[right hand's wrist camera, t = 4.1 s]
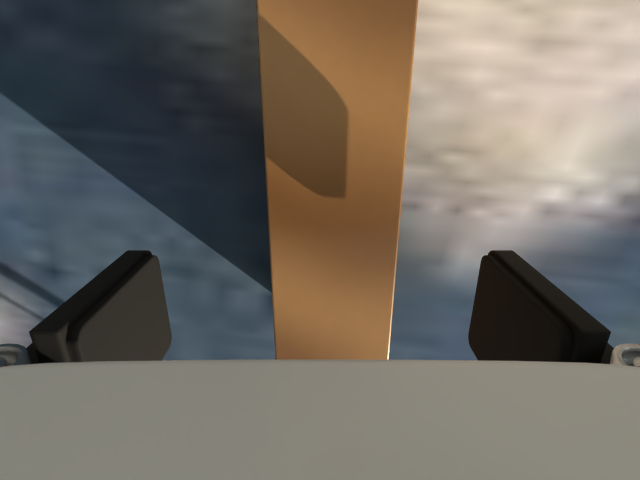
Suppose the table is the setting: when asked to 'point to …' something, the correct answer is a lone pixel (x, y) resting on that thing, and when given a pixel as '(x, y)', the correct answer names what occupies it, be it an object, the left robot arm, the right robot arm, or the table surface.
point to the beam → (334, 169)
